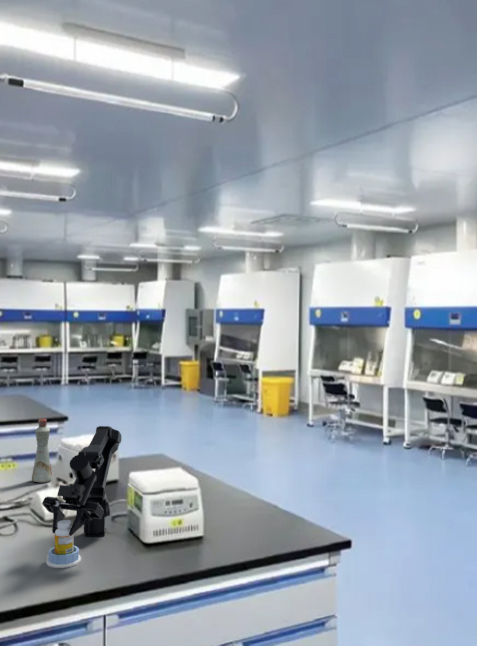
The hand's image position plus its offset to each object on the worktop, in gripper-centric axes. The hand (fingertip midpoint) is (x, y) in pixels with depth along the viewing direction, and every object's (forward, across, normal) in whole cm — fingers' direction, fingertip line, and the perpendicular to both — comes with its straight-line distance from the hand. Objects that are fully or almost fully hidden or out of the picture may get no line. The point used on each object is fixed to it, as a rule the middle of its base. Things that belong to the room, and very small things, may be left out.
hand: (61, 533), depth 181 cm
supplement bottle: (+4, 0, +6) cm, 7 cm away
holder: (+5, 0, +7) cm, 9 cm away
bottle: (-45, -59, +59) cm, 95 cm away
